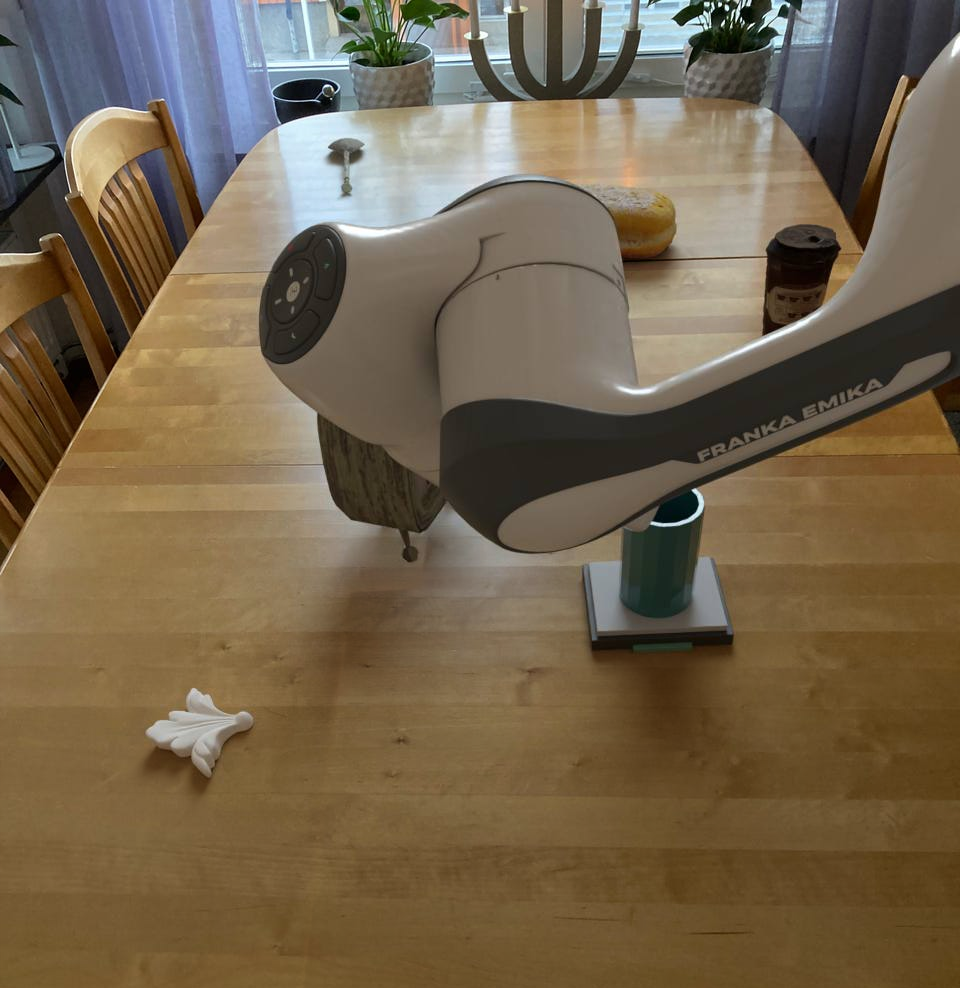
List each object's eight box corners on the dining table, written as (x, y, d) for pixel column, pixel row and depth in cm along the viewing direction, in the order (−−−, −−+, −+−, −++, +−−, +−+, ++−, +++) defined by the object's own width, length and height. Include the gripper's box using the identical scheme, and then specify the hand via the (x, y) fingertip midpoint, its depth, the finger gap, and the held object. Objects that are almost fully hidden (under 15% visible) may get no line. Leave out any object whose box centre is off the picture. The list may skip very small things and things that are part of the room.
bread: (669, 271, 139) (674, 213, 133) (484, 262, 144) (481, 206, 138) (678, 230, 148) (683, 175, 142) (503, 223, 153) (501, 169, 147)
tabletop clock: (420, 577, 96) (388, 339, 79) (336, 559, 99) (287, 325, 81) (473, 489, 106) (455, 259, 88) (395, 476, 108) (362, 249, 91)
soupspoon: (366, 149, 181) (330, 154, 181) (363, 129, 179) (326, 134, 179) (366, 191, 165) (326, 196, 165) (362, 169, 163) (322, 175, 163)
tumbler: (686, 567, 90) (697, 476, 83) (698, 616, 85) (710, 524, 78) (615, 570, 90) (620, 480, 83) (623, 620, 86) (628, 528, 78)
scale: (710, 582, 94) (714, 552, 91) (730, 663, 86) (736, 633, 84) (581, 588, 94) (582, 558, 91) (591, 669, 87) (592, 640, 84)
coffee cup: (830, 355, 121) (852, 249, 112) (760, 358, 121) (776, 253, 112) (814, 320, 127) (833, 217, 118) (747, 323, 127) (762, 221, 118)
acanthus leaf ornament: (210, 781, 80) (203, 767, 79) (141, 756, 83) (134, 741, 81) (261, 714, 85) (256, 700, 84) (195, 692, 87) (189, 677, 86)
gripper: (332, 428, 67) (444, 496, 78) (579, 512, 56) (669, 577, 67) (369, 341, 67) (477, 422, 78) (625, 408, 55) (707, 490, 67)
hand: (567, 494), depth 73 cm, fingers open, 8 cm apart
